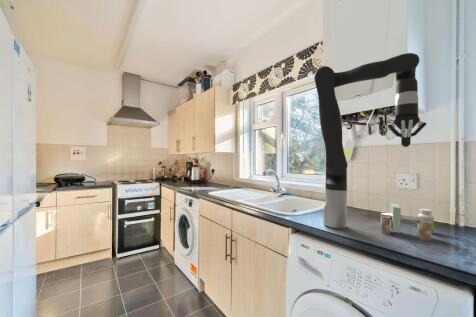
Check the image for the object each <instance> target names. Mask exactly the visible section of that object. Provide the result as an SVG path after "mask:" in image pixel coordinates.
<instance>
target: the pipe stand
mask: <svg viewBox="0 0 476 317" xmlns="http://www.w3.org/2000/svg"><path fill="white" fill-rule="evenodd" d="M380 232H381V234H385V235H389V236H390V235H391V219H390V217H386V216H381V215H380ZM417 236H418V238H419V239H420V240H421V241H429V242H431V241H432V234H431V223H430V222H426V221H420V223H417Z"/></svg>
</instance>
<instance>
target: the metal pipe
mask: <svg viewBox="0 0 476 317" xmlns="http://www.w3.org/2000/svg"><path fill="white" fill-rule="evenodd" d="M381 216H386V217H390V221H391V220H392V214H391V213H388V212H387V213H386V212H380V217H381ZM420 221H426V222H430V219H429V218H423V217H418V216H413V215H403V214H401V216H400V222H407V223H415V224H418V223H420Z"/></svg>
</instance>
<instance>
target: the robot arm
mask: <svg viewBox="0 0 476 317" xmlns="http://www.w3.org/2000/svg"><path fill="white" fill-rule="evenodd" d="M419 64H420V56H419V55H418V54H417V53H414V52H411V53H410V52H407V53H402V54H397V55H396V56H393V57H391V58H388V59H385V60H380V61H374V62H369V63H365V64H362V65H360V66H357V67H354V68H352V69H348V70H345V71H341V72H335V71H334V70H333V68H331V67H329V66H327V65H323V66H321V67H319V68H318V69H317V70H316V71H315V73H314V76H313V80H314V81H313V82H314V84H315V87H316V88H315V89H316V92H317V98H318V114H319V115H318V116H319V124H320V131H321V135H322V138H323V142H324V146H325V195H324V196H325V198H324V200H325V201H324V207H323V210H324V211H323V214H324V215H323V219H324V220H323V225H324V226H325V227H328V228H332V229H346V228H347V218H348V217H347V214H348V212H347V210H348V209H347V208H348V204H347V202H348V180H347V179H348V167H349V166H348V161H347V158H346V154H345V151H344V146H343V127H342V126H343V122H342V117H341V116H342V115H341V110H340V107H339V103H338V101H337V97H336V91H335V88H338V87H341V86H345V85H349V84H353V83H359V82H364V81H370V80H377V79H383V78H386V77H388V75H391V74H394V75H395V84H396V86H395V99H394V120H393V122H391V123H389V124H388V125H387V128H388V130H390V131H391V133H393V134H394V135H395V136H396V137H398V138H400V141H401V142H400V145H401V146H403V148H408V147H409V146H410V145H411V138H413V137H414V136H417V135H418V133H420V131H422V130H423V129H424V128H425V126H427V122H424V121H421V118H420V117H419V94H418V93H419V92H418V91H419V90H418V89H419V88H418V87H419V86H418V85H419V84H418V80H417V78H416V72H417V70H416V69H417V67H418V65H419ZM416 125H417V128H416V129H415V130H414V131H413V132H412V130H413V129H414V128H415V126H416ZM396 127H397V128H398V129H399V130H400V132H399V131H398V130H397V129H396Z"/></svg>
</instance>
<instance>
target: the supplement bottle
mask: <svg viewBox="0 0 476 317" xmlns="http://www.w3.org/2000/svg"><path fill="white" fill-rule="evenodd" d="M432 212H433V211H432V210H431V209H430V208H429V209H428V208H419V213H418V214H417V217H423V218H429V219H430V223H431V235H432V234H434V233H435V222H434V220H435V218H434V217H435V216H434V215H432Z"/></svg>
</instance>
